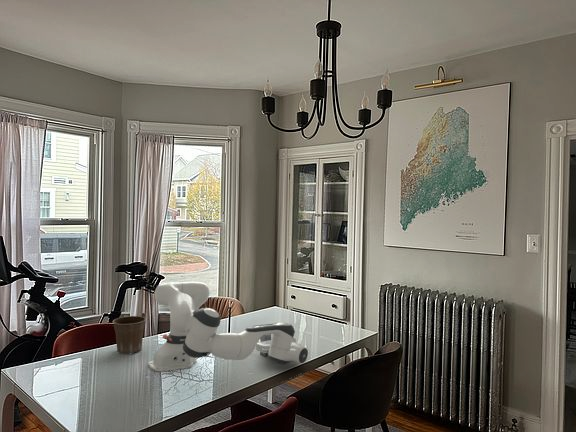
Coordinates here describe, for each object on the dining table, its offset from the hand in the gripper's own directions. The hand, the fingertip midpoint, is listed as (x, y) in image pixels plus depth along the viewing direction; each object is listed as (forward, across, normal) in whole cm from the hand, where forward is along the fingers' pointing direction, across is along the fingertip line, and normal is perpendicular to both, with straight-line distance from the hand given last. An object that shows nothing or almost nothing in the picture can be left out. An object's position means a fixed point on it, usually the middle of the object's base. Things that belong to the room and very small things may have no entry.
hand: (265, 340), depth 230 cm
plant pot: (+48, -53, -8) cm, 72 cm away
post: (0, 0, -7) cm, 7 cm away
